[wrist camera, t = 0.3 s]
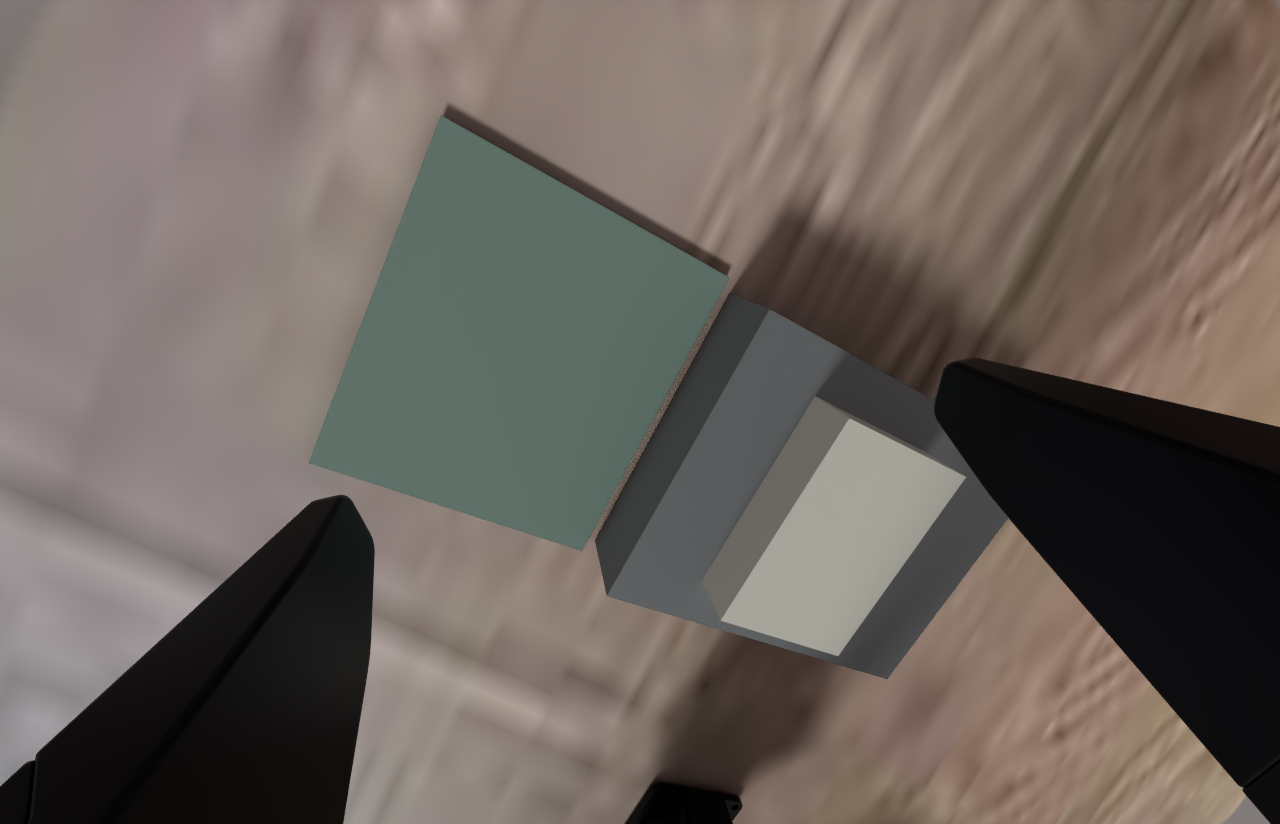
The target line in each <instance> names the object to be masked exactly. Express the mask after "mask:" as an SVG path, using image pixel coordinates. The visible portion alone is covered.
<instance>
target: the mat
mask: <svg viewBox="0 0 1280 824" xmlns="http://www.w3.org/2000/svg"><path fill="white" fill-rule="evenodd" d="M728 280H729V277H728V276H726V275H724V274H722V273H721V272H719V271H717V270H715V269H713V268H712V267H710V266H708V265H706V264H705V263H703V262H701V261H699V260H697V259H696V258H694V257H692V256H690V255H689V254H687V253H685V252H683V251H681V250H680V249H678V248H676V247H674V246H673V245H671V244H669V243H667V242H665V241H664V240H662V239H660V238H658V237H657V236H655V235H653V234H651V233H649V232H648V231H646V230H644V229H642V228H641V227H639V226H637V225H635V224H633V223H632V222H630V221H628V220H626V219H625V218H623V217H621V216H619V215H617V214H616V213H614V212H612V211H610V210H609V209H607V208H605V207H603V206H601V205H600V204H598V203H596V202H594V201H593V200H591V199H589V198H587V197H585V196H584V195H582V194H580V193H578V192H577V191H575V190H573V189H571V188H569V187H568V186H566V185H564V184H562V183H561V182H559V181H557V180H555V179H553V178H552V177H550V176H548V175H546V174H545V173H543V172H541V171H539V170H537V169H536V168H534V167H532V166H530V165H529V164H527V163H525V162H523V161H521V160H520V159H518V158H516V157H514V156H513V155H511V154H509V153H507V152H505V151H504V150H502V149H500V148H498V147H497V146H495V145H493V144H491V143H489V142H488V141H486V140H484V139H482V138H481V137H479V136H477V135H475V134H473V133H472V132H470V131H468V130H466V129H465V128H463V127H461V126H459V125H457V124H456V123H454V122H452V121H450V120H449V119H447V118H445V117H443V116H440V119H439V121H438V124H437V127H436V129H435V132H434V135H433V137H432V140H431V142H430V145H429V148H428V150H427V153H426V156H425V158H424V161H423V164H422V166H421V169H420V171H419V174H418V177H417V179H416V182H415V185H414V187H413V190H412V192H411V195H410V198H409V200H408V203H407V206H406V208H405V211H404V214H403V216H402V219H401V221H400V224H399V227H398V229H397V232H396V235H395V237H394V240H393V243H392V245H391V248H390V250H389V253H388V256H387V258H386V261H385V264H384V266H383V269H382V271H381V274H380V277H379V279H378V282H377V285H376V287H375V290H374V293H373V295H372V298H371V300H370V303H369V306H368V308H367V311H366V314H365V316H364V319H363V321H362V324H361V327H360V329H359V332H358V335H357V337H356V340H355V343H354V345H353V348H352V350H351V353H350V356H349V358H348V361H347V364H346V366H345V369H344V371H343V374H342V377H341V379H340V382H339V385H338V387H337V390H336V393H335V395H334V398H333V400H332V403H331V406H330V408H329V411H328V414H327V416H326V419H325V421H324V424H323V427H322V429H321V432H320V435H319V437H318V440H317V443H316V445H315V448H314V450H313V453H312V456H311V458H310V461H309V463H310V464H313V465H317V466H320V467H323V468H326V469H329V470H332V471H335V472H338V473H341V474H344V475H348V476H351V477H354V478H357V479H360V480H363V481H366V482H369V483H372V484H376V485H379V486H382V487H385V488H388V489H391V490H394V491H397V492H400V493H403V494H407V495H410V496H413V497H416V498H419V499H422V500H425V501H428V502H431V503H435V504H438V505H441V506H444V507H447V508H450V509H453V510H456V511H459V512H463V513H466V514H469V515H472V516H475V517H478V518H481V519H484V520H487V521H490V522H494V523H497V524H500V525H503V526H506V527H509V528H512V529H515V530H518V531H522V532H525V533H528V534H531V535H534V536H537V537H540V538H543V539H546V540H550V541H553V542H556V543H559V544H562V545H565V546H568V547H571V548H574V549H577V550H581V551H582V550H583V548H584V546H585V544H586V543H587V541H588V539H589V537H590V535H591V533H592V531H593V530H594V528H595V526H596V524H597V522H598V520H599V518H600V517H601V515H602V513H603V511H604V509H605V507H606V506H607V504H608V502H609V500H610V498H611V496H612V494H613V493H614V491H615V489H616V487H617V485H618V483H619V482H620V480H621V478H622V476H623V474H624V472H625V470H626V469H627V467H628V465H629V463H630V461H631V459H632V457H633V456H634V454H635V452H636V450H637V448H638V446H639V445H640V443H641V441H642V439H643V437H644V435H645V433H646V432H647V430H648V428H649V426H650V424H651V422H652V420H653V419H654V417H655V415H656V413H657V411H658V409H659V408H660V406H661V404H662V402H663V400H664V398H665V396H666V395H667V393H668V391H669V389H670V387H671V385H672V384H673V382H674V380H675V378H676V376H677V374H678V372H679V371H680V369H681V367H682V365H683V363H684V361H685V359H686V358H687V356H688V354H689V352H690V350H691V348H692V347H693V345H694V343H695V341H696V339H697V337H698V335H699V334H700V332H701V330H702V328H703V326H704V324H705V323H706V321H707V319H708V317H709V315H710V313H711V311H712V310H713V308H714V306H715V304H716V302H717V300H718V298H719V297H720V295H721V293H722V291H723V289H724V287H725V286H726V284H727V282H728Z"/></svg>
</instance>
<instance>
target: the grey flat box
mask: <svg viewBox="0 0 1280 824" xmlns="http://www.w3.org/2000/svg"><path fill="white" fill-rule="evenodd" d="M815 396H816V397H818V398H820V399H822V400H824V401H826V402H828V403H830V404H832V405H834V406H836V407H838V408H840V409H842V410H844V411H846V412H848V413H850V414H852V415H854V416H855V417H857V418H859V419H861V420H863V421H865V422H867V423H869V424H871V425H873V426H875V427H877V428H879V429H881V430H883V431H885V432H887V433H889V434H891V435H893V436H895V437H897V438H899V439H901V440H903V441H905V442H907V443H909V444H911V445H913V446H915V447H917V448H919V449H921V450H923V451H924V452H926V453H928V454H929V455H931V456H933V457H934V458H936V459H938V460H939V461H941V462H943V463H944V464H946V465H947V466H949V467H951V468H952V469H954V470H956V471H957V472H959V473H961V474H962V475H964V476H966V478H965V479H964V481H963V482H962V484H961V485H960V486H959V488H958V489H957V491H956V492H955V493H954V495H953V496H952V498H951V499H950V500H949V502H948V503H947V505H946V506H945V507H944V509H943V510H942V512H941V513H940V514H939V516H938V517H937V519H936V520H935V521H934V523H933V524H932V526H931V527H930V528H929V530H928V531H927V533H926V534H925V535H924V537H923V538H922V540H921V541H920V542H919V544H918V545H917V546H916V548H915V549H914V551H913V552H912V553H911V555H910V556H909V558H908V559H907V560H906V562H905V563H904V565H903V566H902V567H901V569H900V570H899V572H898V573H897V574H896V576H895V577H894V579H893V580H892V581H891V583H890V584H889V586H888V587H887V588H886V590H885V591H884V593H883V594H882V595H881V597H880V598H879V600H878V601H877V602H876V604H875V605H874V607H873V608H872V609H871V611H870V612H869V614H868V615H867V616H866V618H865V619H864V621H863V622H862V623H861V625H860V626H859V628H858V629H857V630H856V632H855V633H854V635H853V636H852V637H851V639H850V640H849V642H848V643H847V644H846V646H845V647H844V649H843V650H842V651H841V653H840V654H839V656H836V655H832V654H829V653H826V652H822V651H819V650H816V649H812V648H809V647H806V646H803V645H799V644H796V643H793V642H789V641H786V640H783V639H779V638H776V637H773V636H770V635H766V634H763V633H760V632H756V631H753V630H750V629H746V628H743V627H740V626H737V625H733V624H730V623H727V622H723V621H721V620H720V618H719V616H718V614H717V612H716V610H715V608H714V606H713V604H712V602H711V599H710V597H709V595H708V593H707V591H706V589H705V587H704V585H703V583H702V579H703V578H704V576H705V574H706V573H707V571H708V569H709V568H710V566H711V565H712V563H713V561H714V560H715V558H716V556H717V555H718V553H719V551H720V550H721V548H722V547H723V545H724V543H725V542H726V540H727V538H728V537H729V535H730V534H731V532H732V530H733V529H734V527H735V525H736V524H737V522H738V521H739V519H740V517H741V516H742V514H743V512H744V511H745V509H746V507H747V506H748V504H749V503H750V501H751V499H752V498H753V496H754V494H755V493H756V491H757V490H758V488H759V486H760V485H761V483H762V481H763V480H764V478H765V476H766V475H767V473H768V472H769V470H770V468H771V467H772V465H773V463H774V462H775V460H776V459H777V457H778V455H779V454H780V452H781V450H782V449H783V447H784V446H785V444H786V442H787V441H788V439H789V437H790V436H791V434H792V432H793V431H794V429H795V428H796V426H797V424H798V423H799V421H800V419H801V418H802V416H803V415H804V413H805V411H806V410H807V408H808V406H809V405H810V403H811V401H812V400H813V398H814V397H815ZM934 404H935V401H934V400H933V399H931V398H929V397H927V396H925V395H924V394H922V393H920V392H918V391H916V390H915V389H913V388H911V387H909V386H907V385H906V384H904V383H902V382H900V381H898V380H897V379H895V378H893V377H891V376H889V375H888V374H886V373H884V372H882V371H880V370H879V369H877V368H875V367H873V366H871V365H870V364H868V363H866V362H864V361H862V360H861V359H859V358H857V357H855V356H853V355H852V354H850V353H848V352H846V351H844V350H843V349H841V348H839V347H837V346H835V345H834V344H832V343H830V342H828V341H826V340H825V339H823V338H821V337H819V336H817V335H816V334H814V333H812V332H810V331H808V330H807V329H805V328H803V327H801V326H799V325H798V324H796V323H794V322H792V321H790V320H789V319H787V318H785V317H783V316H781V315H780V314H778V313H776V312H774V311H772V310H771V309H768V308H766V307H764V306H761V305H759V304H756V303H754V302H751V301H749V300H747V299H744V298H742V297H739V296H737V295H734V294H732V293H730V294H729V296H728V298H727V300H726V301H725V303H724V305H723V307H722V309H721V311H720V312H719V314H718V316H717V318H716V320H715V322H714V323H713V325H712V327H711V329H710V331H709V333H708V334H707V336H706V338H705V340H704V342H703V344H702V345H701V347H700V349H699V351H698V353H697V355H696V356H695V358H694V360H693V362H692V364H691V366H690V367H689V369H688V371H687V373H686V375H685V377H684V378H683V380H682V382H681V384H680V386H679V388H678V389H677V391H676V393H675V395H674V397H673V399H672V401H671V402H670V404H669V406H668V408H667V410H666V412H665V413H664V415H663V417H662V419H661V421H660V423H659V424H658V426H657V428H656V430H655V432H654V434H653V435H652V437H651V439H650V441H649V443H648V445H647V446H646V448H645V450H644V452H643V454H642V456H641V457H640V459H639V461H638V463H637V465H636V467H635V468H634V470H633V472H632V474H631V476H630V478H629V479H628V481H627V483H626V485H625V487H624V489H623V490H622V492H621V494H620V496H619V498H618V500H617V501H616V503H615V505H614V507H613V509H612V511H611V512H610V514H609V516H608V518H607V520H606V522H605V523H604V525H603V527H602V529H601V531H600V533H599V534H598V536H597V538H596V540H595V542H596V547H597V552H598V556H599V561H600V566H601V571H602V575H603V580H604V585H605V589H606V594H607V596H609V597H612V598H615V599H619V600H622V601H625V602H629V603H632V604H636V605H639V606H642V607H646V608H649V609H652V610H656V611H659V612H663V613H666V614H669V615H673V616H676V617H679V618H683V619H686V620H690V621H693V622H696V623H700V624H703V625H706V626H710V627H713V628H717V629H720V630H723V631H727V632H730V633H733V634H737V635H740V636H744V637H747V638H750V639H754V640H757V641H760V642H764V643H767V644H771V645H774V646H777V647H781V648H784V649H787V650H791V651H794V652H798V653H801V654H804V655H808V656H811V657H814V658H818V659H821V660H825V661H828V662H831V663H835V664H838V665H841V666H845V667H848V668H852V669H855V670H858V671H862V672H865V673H868V674H872V675H875V676H878V677H882V678H885V679H888V677H889V676H890V675H891V673H892V672H893V671H894V669H895V668H896V667H897V665H898V664H899V663H900V661H901V660H902V659H903V657H904V656H905V655H906V653H907V652H908V651H909V649H910V648H911V647H912V645H913V644H914V643H915V641H916V640H917V639H918V637H919V636H920V635H921V633H922V632H923V631H924V629H925V628H926V627H927V625H928V624H929V623H930V621H931V620H932V619H933V617H934V616H935V615H936V613H937V612H938V611H939V609H940V608H941V607H942V605H943V604H944V603H945V601H946V600H947V599H948V597H949V596H950V595H951V593H952V592H953V591H954V589H955V588H956V587H957V585H958V584H959V583H960V581H961V580H962V579H963V578H964V576H965V575H966V574H967V572H968V571H969V570H970V568H971V567H972V566H973V564H974V563H975V562H976V560H977V559H978V558H979V556H980V555H981V554H982V552H983V551H984V550H985V548H986V547H987V546H988V544H989V543H990V542H991V540H992V539H993V538H994V536H995V535H996V534H997V532H998V531H999V530H1000V528H1001V527H1002V526H1003V524H1004V523H1005V522H1006V520H1007V519H1008V517H1007V516H1006V515H1005V514H1004V512H1003V511H1002V510H1001V509H1000V508H999V506H998V505H997V504H996V503H995V502H994V500H993V499H992V498H991V497H990V495H989V494H988V493H987V491H986V490H985V489H984V487H983V486H982V485H981V483H980V482H979V480H978V479H977V477H976V476H975V475H974V473H973V472H972V470H971V469H970V467H969V466H968V465H967V463H966V462H965V460H964V459H963V457H962V456H961V455H960V453H959V452H958V450H957V449H956V447H955V446H954V445H953V443H952V442H951V440H950V439H949V437H948V436H947V435H946V433H945V432H944V430H943V429H942V428H941V426H940V425H939V423H938V422H937V420H936V417H935V414H934Z"/></svg>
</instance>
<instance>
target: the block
mask: <svg viewBox="0 0 1280 824" xmlns="http://www.w3.org/2000/svg"><path fill="white" fill-rule="evenodd" d="M965 478H966V476H964V475H962V474H961V473H959V472H957V471H956V470H954V469H952V468H951V467H949V466H947V465H946V464H944V463H943V462H941V461H939V460H938V459H936V458H934V457H933V456H931V455H929V454H928V453H926V452H924V451H923V450H921V449H919V448H917V447H915V446H913V445H911V444H909V443H907V442H905V441H903V440H901V439H899V438H897V437H895V436H893V435H891V434H889V433H887V432H885V431H883V430H881V429H879V428H877V427H875V426H873V425H871V424H869V423H867V422H865V421H863V420H861V419H859V418H857V417H855V416H854V415H852V414H850V413H848V412H846V411H844V410H842V409H840V408H838V407H836V406H834V405H832V404H830V403H828V402H826V401H824V400H822V399H820V398H818V397H816V396H815V397H814V398H813V400H812V401H811V403H810V405H809V406H808V408H807V410H806V411H805V413H804V415H803V416H802V418H801V419H800V421H799V423H798V424H797V426H796V428H795V429H794V431H793V432H792V434H791V436H790V437H789V439H788V441H787V442H786V444H785V446H784V447H783V449H782V450H781V452H780V454H779V455H778V457H777V459H776V460H775V462H774V463H773V465H772V467H771V468H770V470H769V472H768V473H767V475H766V476H765V478H764V480H763V481H762V483H761V485H760V486H759V488H758V490H757V491H756V493H755V494H754V496H753V498H752V499H751V501H750V503H749V504H748V506H747V507H746V509H745V511H744V512H743V514H742V516H741V517H740V519H739V521H738V522H737V524H736V525H735V527H734V529H733V530H732V532H731V534H730V535H729V537H728V538H727V540H726V542H725V543H724V545H723V547H722V548H721V550H720V551H719V553H718V555H717V556H716V558H715V560H714V561H713V563H712V565H711V566H710V568H709V569H708V571H707V573H706V574H705V576H704V578H703V579H702V583H703V585H704V587H705V589H706V591H707V593H708V595H709V597H710V599H711V602H712V604H713V606H714V608H715V610H716V612H717V614H718V616H719V618H720V620H721V621H723V622H727V623H730V624H733V625H737V626H740V627H743V628H746V629H750V630H753V631H756V632H760V633H763V634H766V635H770V636H773V637H776V638H779V639H783V640H786V641H789V642H793V643H796V644H799V645H803V646H806V647H809V648H812V649H816V650H819V651H822V652H826V653H829V654H832V655H836V656H839V654H840V653H841V651H842V650H843V649H844V647H845V646H846V644H847V643H848V642H849V640H850V639H851V637H852V636H853V635H854V633H855V632H856V630H857V629H858V628H859V626H860V625H861V623H862V622H863V621H864V619H865V618H866V616H867V615H868V614H869V612H870V611H871V609H872V608H873V607H874V605H875V604H876V602H877V601H878V600H879V598H880V597H881V595H882V594H883V593H884V591H885V590H886V588H887V587H888V586H889V584H890V583H891V581H892V580H893V579H894V577H895V576H896V574H897V573H898V572H899V570H900V569H901V567H902V566H903V565H904V563H905V562H906V560H907V559H908V558H909V556H910V555H911V553H912V552H913V551H914V549H915V548H916V546H917V545H918V544H919V542H920V541H921V540H922V538H923V537H924V535H925V534H926V533H927V531H928V530H929V528H930V527H931V526H932V524H933V523H934V521H935V520H936V519H937V517H938V516H939V514H940V513H941V512H942V510H943V509H944V507H945V506H946V505H947V503H948V502H949V500H950V499H951V498H952V496H953V495H954V493H955V492H956V491H957V489H958V488H959V486H960V485H961V484H962V482H963V481H964V479H965Z"/></svg>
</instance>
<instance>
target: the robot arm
mask: <svg viewBox="0 0 1280 824" xmlns="http://www.w3.org/2000/svg"><path fill="white" fill-rule="evenodd" d="M934 414H935V417H936V420H937V422H938V423H939V425H940V426H941V428H942V429H943V430H944V432H945V433H946V435H947V436H948V437H949V439H950V440H951V442H952V443H953V445H954V446H955V447H956V449H957V450H958V452H959V453H960V455H961V456H962V457H963V459H964V460H965V462H966V463H967V465H968V466H969V467H970V469H971V470H972V472H973V473H974V475H975V476H976V477H977V479H978V480H979V482H980V483H981V485H982V486H983V487H984V489H985V490H986V491H987V493H988V494H989V495H990V497H991V498H992V499H993V500H994V502H995V503H996V504H997V505H998V506H999V508H1000V509H1001V510H1002V511H1003V512H1004V514H1005V515H1006V516H1007V517H1008V518H1009V519H1010V520H1011V522H1012V523H1013V524H1014V525H1015V526H1016V527H1017V529H1018V530H1019V531H1020V532H1021V533H1022V534H1023V536H1024V537H1025V538H1026V539H1027V540H1028V541H1029V543H1030V544H1031V545H1032V546H1033V547H1034V548H1035V550H1036V551H1037V552H1038V553H1039V554H1040V555H1041V557H1042V558H1043V559H1044V560H1045V561H1046V562H1047V564H1048V565H1049V566H1050V567H1051V568H1052V569H1053V570H1054V572H1055V573H1056V574H1057V575H1058V576H1059V577H1060V579H1061V580H1062V581H1063V582H1064V583H1065V584H1066V586H1067V587H1068V588H1069V589H1070V590H1071V591H1072V593H1073V594H1074V595H1075V596H1076V597H1077V598H1078V600H1079V601H1080V602H1081V603H1082V604H1083V605H1084V607H1085V608H1086V609H1087V610H1088V611H1089V612H1090V613H1091V615H1092V616H1093V617H1094V618H1095V619H1096V620H1097V622H1098V623H1099V624H1100V625H1101V626H1102V627H1103V629H1104V630H1105V631H1106V632H1107V633H1108V634H1109V636H1110V637H1111V638H1112V639H1113V640H1114V641H1115V643H1116V644H1117V645H1118V646H1119V647H1120V648H1121V650H1122V651H1123V652H1124V653H1125V654H1126V655H1127V657H1128V658H1129V659H1130V660H1131V661H1132V662H1133V663H1134V665H1135V666H1136V667H1137V668H1138V669H1139V670H1140V672H1141V673H1142V674H1143V675H1144V676H1145V677H1146V679H1147V680H1148V681H1149V682H1150V683H1151V684H1152V686H1153V687H1154V688H1155V689H1156V690H1157V691H1158V693H1159V694H1160V695H1161V696H1162V697H1163V698H1164V700H1165V701H1166V702H1167V703H1168V704H1169V705H1170V706H1171V708H1172V709H1173V710H1174V711H1175V712H1176V713H1177V715H1178V716H1179V717H1180V718H1181V719H1182V720H1183V722H1184V723H1185V724H1186V725H1187V726H1188V727H1189V729H1190V730H1191V731H1192V732H1193V733H1194V734H1195V736H1196V737H1197V738H1198V739H1199V740H1200V741H1201V743H1202V744H1203V745H1204V746H1205V747H1206V748H1207V750H1208V751H1209V752H1210V753H1211V754H1212V755H1213V756H1214V758H1215V759H1216V760H1217V761H1218V762H1219V763H1220V765H1221V766H1222V767H1223V768H1224V769H1225V770H1226V772H1227V773H1228V774H1229V775H1230V776H1231V777H1232V779H1233V780H1234V781H1235V782H1236V783H1237V784H1238V785H1239V786H1240V787H1243V789H1242V790H1243V792H1244V793H1245V795H1246V796H1247V797H1248V798H1249V799H1250V800H1251V802H1252V803H1253V804H1254V805H1255V806H1256V807H1257V809H1258V810H1259V811H1260V812H1261V813H1262V814H1263V815H1264V816H1265V818H1266V819H1267V820H1268V821H1269V822H1270V824H1280V427H1277V426H1273V425H1269V424H1264V423H1260V422H1256V421H1251V420H1247V419H1242V418H1238V417H1234V416H1229V415H1225V414H1221V413H1216V412H1212V411H1207V410H1203V409H1199V408H1194V407H1190V406H1186V405H1181V404H1177V403H1172V402H1168V401H1164V400H1159V399H1155V398H1151V397H1146V396H1142V395H1137V394H1133V393H1129V392H1124V391H1120V390H1115V389H1111V388H1107V387H1102V386H1098V385H1094V384H1089V383H1085V382H1080V381H1076V380H1072V379H1067V378H1063V377H1059V376H1054V375H1050V374H1045V373H1041V372H1037V371H1032V370H1028V369H1024V368H1019V367H1015V366H1010V365H1006V364H1002V363H997V362H993V361H989V360H984V359H980V358H968V359H964V360H959V361H955V362H951V363H949V364H948V365H947V366H946V367H945V368H944V370H943V373H942V377H941V381H940V384H939V388H938V392H937V396H936V400H935V404H934ZM374 554H375V550H374V543H373V539H372V536H371V534H370V532H369V530H368V529H367V527H366V525H365V523H364V521H363V519H362V518H361V516H360V514H359V512H358V510H357V509H356V507H355V505H354V503H353V502H352V500H351V499H350V498H349V497H348V496H345V495H337V496H332V497H328V498H323V499H318V500H315V501H313V502H311V503H310V504H309V505H308V506H306V507H305V508H304V509H303V510H302V511H301V512H300V513H299V514H298V515H297V516H296V517H294V518H293V519H292V520H291V521H290V522H289V523H288V524H287V525H286V526H285V527H283V528H282V529H281V530H280V531H279V532H278V533H277V534H276V535H275V536H274V537H273V538H271V539H270V540H269V541H268V542H267V543H266V544H265V545H264V546H263V547H262V548H261V549H259V550H258V551H257V552H256V553H255V554H254V555H253V556H252V557H251V558H250V559H249V560H247V561H246V562H245V563H244V564H243V565H242V566H241V567H240V568H239V569H238V570H237V571H235V572H234V573H233V574H232V575H231V576H230V577H229V578H228V579H227V580H226V581H224V582H223V583H222V584H221V585H220V586H219V587H218V588H217V589H216V590H215V591H214V592H212V593H211V594H210V595H209V596H208V597H207V598H206V599H205V600H204V601H203V602H202V603H200V604H199V605H198V606H197V607H196V608H195V609H194V610H193V611H192V612H191V613H189V614H188V615H187V616H186V617H185V618H184V619H183V620H182V621H181V622H180V623H179V624H177V625H176V626H175V627H174V628H173V629H172V630H171V631H170V632H169V633H168V634H167V635H165V636H164V637H163V638H162V639H161V640H160V641H159V642H158V643H157V644H156V645H154V646H153V647H152V648H151V649H150V650H149V651H148V652H147V653H146V654H145V655H144V656H142V657H141V658H140V659H139V660H138V661H137V662H136V663H135V664H134V665H133V666H132V667H130V668H129V669H128V670H127V671H126V672H125V673H124V674H123V675H122V676H121V677H119V678H118V679H117V680H116V681H115V682H114V683H113V684H112V685H111V686H110V687H109V688H107V689H106V690H105V691H104V692H103V693H102V694H101V695H100V696H99V697H98V698H97V699H95V700H94V701H93V702H92V703H91V704H90V705H89V706H88V707H87V708H86V709H84V710H83V711H82V712H81V713H80V714H79V715H78V716H77V717H76V718H75V719H74V720H72V721H71V722H70V723H69V724H68V725H67V726H66V727H65V728H64V729H63V730H62V731H60V732H59V733H58V734H57V735H56V736H55V737H54V738H53V739H52V740H51V741H49V742H48V743H47V744H46V745H45V746H44V747H43V748H42V749H41V750H40V751H39V752H38V753H37V754H36V758H35V760H34V761H29V762H27V763H25V764H24V765H23V766H22V767H21V768H20V769H19V770H18V771H16V772H15V773H14V774H13V775H12V776H11V777H10V778H9V779H8V780H7V781H6V782H5V783H3V784H2V785H1V786H0V824H343V821H344V815H345V809H346V802H347V796H348V790H349V784H350V778H351V772H352V765H353V759H354V753H355V747H356V741H357V735H358V728H359V722H360V716H361V710H362V704H363V698H364V691H365V685H366V679H367V673H368V665H369V658H370V647H371V629H372V604H373V579H374ZM741 809H742V802H741V799H740V797H739V796H735V795H729V794H724V793H718V792H712V791H707V790H701V789H695V788H689V787H684V786H678V785H672V784H667V783H657V784H655V785H653V786H652V788H651V789H650V791H649V792H648V794H647V795H646V797H645V798H644V800H643V801H642V803H641V804H640V806H639V807H638V809H637V810H636V812H635V813H634V815H633V816H632V818H631V819H630V821H629V822H628V824H733V822H732V821H733V820H734V818H735V817H736V816H737V814H738V813H739V811H740V810H741Z"/></svg>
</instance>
